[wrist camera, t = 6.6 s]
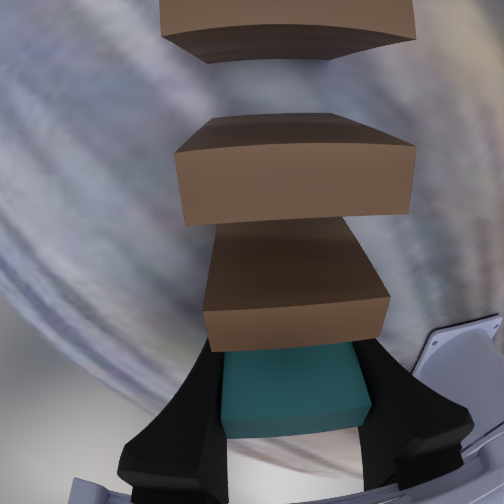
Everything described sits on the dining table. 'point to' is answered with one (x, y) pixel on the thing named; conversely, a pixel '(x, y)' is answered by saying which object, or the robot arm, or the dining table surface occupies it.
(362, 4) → the walnut tile
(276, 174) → the walnut tile
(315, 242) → the walnut tile
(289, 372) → the teal tile
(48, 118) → the dining table surface
